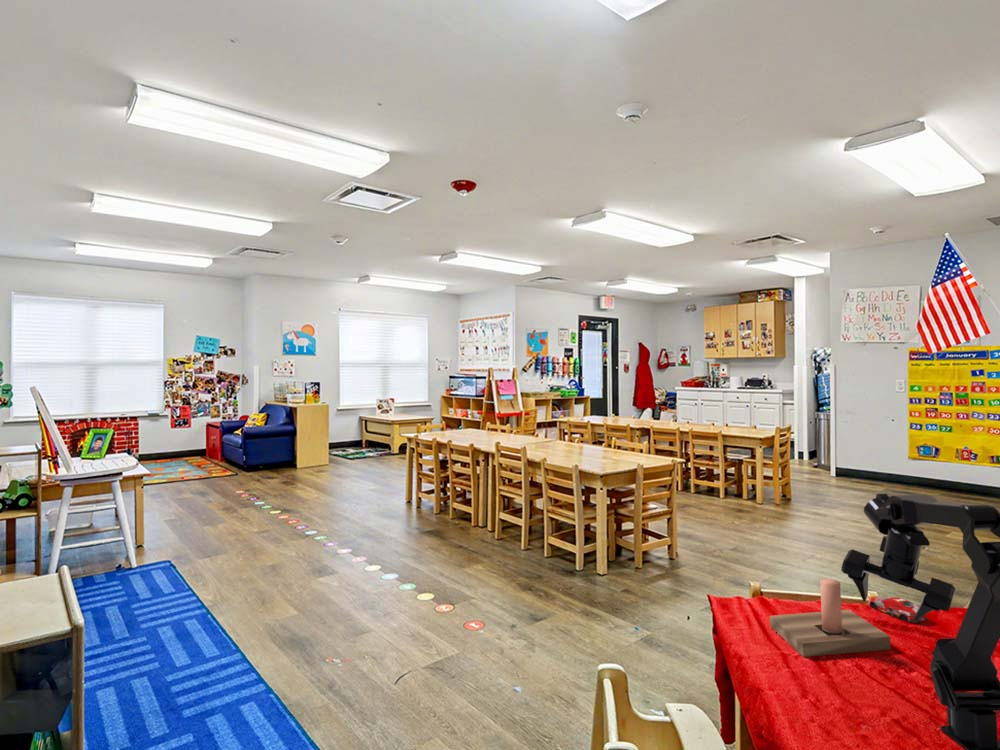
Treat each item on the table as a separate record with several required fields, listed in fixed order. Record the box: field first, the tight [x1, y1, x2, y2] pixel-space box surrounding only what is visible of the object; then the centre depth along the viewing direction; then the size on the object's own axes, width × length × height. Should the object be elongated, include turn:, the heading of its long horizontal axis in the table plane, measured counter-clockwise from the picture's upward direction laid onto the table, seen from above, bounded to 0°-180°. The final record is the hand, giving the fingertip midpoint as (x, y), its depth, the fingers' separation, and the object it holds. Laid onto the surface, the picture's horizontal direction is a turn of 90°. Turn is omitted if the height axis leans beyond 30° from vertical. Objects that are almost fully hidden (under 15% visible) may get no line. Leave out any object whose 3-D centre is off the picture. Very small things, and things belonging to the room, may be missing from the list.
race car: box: [868, 595, 928, 624], centre depth 146 cm, size 13×5×4 cm, turn 18°
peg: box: [819, 578, 843, 636], centre depth 134 cm, size 4×4×14 cm
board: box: [769, 609, 891, 658], centre depth 136 cm, size 14×20×3 cm
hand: (889, 609), depth 123 cm, fingers open, 9 cm apart
